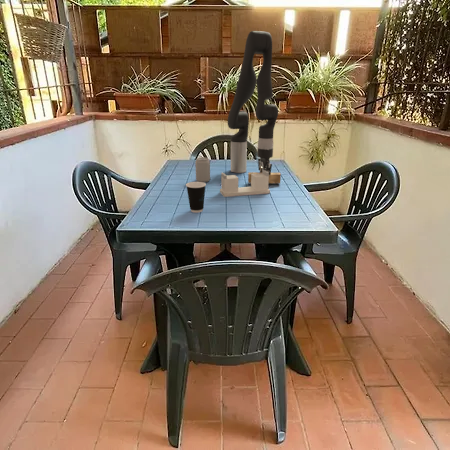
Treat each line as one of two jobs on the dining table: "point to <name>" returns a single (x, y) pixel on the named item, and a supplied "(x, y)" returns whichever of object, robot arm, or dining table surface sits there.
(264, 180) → the display stand
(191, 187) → the dixie cup
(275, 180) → the bar
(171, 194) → the dining table surface
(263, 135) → the robot arm
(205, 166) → the can
